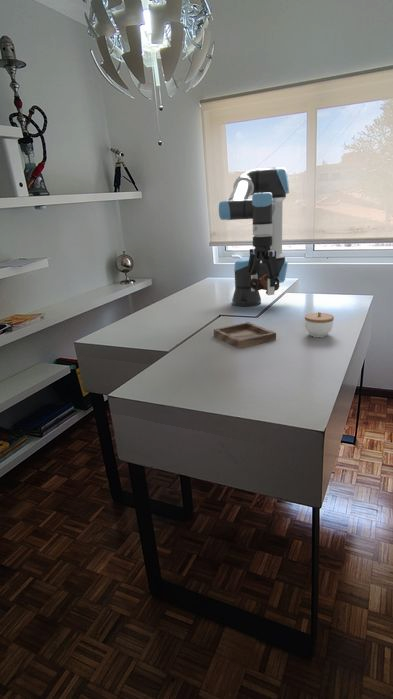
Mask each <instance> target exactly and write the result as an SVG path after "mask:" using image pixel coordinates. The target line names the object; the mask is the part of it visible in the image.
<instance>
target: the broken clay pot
mask: <svg viewBox="0 0 393 699" xmlns="http://www.w3.org/2000/svg"><path fill="white" fill-rule="evenodd" d="M268 277H269V275H268V274H265V275H263V276H262V278H260V279H255V278H253V279H251V280H250V282H249V284H250V286H251V288H253V289H254V290H255V291H256V292H257V291H261V290H264V291H265V295H268V282H266V280H268ZM275 281H276V282H277V283H276V284H275V287H274V292H276V291H278V290H279V289H280V284H281V283H280V281H279V279H278V278H277V277H276V278H275ZM253 283H255V284H256V285H253Z"/></svg>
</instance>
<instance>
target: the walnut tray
mask: <svg viewBox="0 0 393 699" xmlns="http://www.w3.org/2000/svg"><path fill="white" fill-rule="evenodd" d="M213 337H215V338H217V339H219V340H221V341H224V342H225V343H227V344H229V345H231V346H233V347H235V348H237V349H239V350H240V349H244V348H248V347H253V346H256V345H260V344H264V343H269V342H272V341H276V340H277V332H275V331H272V330H269V329H268V328H265V327H263V326H259V325H256V324H255V323H251V322H249V321H246V322H241V323H238V324H234V325H233V324H232V325H228V326H223V327H219V328H214V329H213Z"/></svg>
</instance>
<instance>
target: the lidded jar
mask: <svg viewBox="0 0 393 699" xmlns="http://www.w3.org/2000/svg"><path fill="white" fill-rule="evenodd" d="M334 319H335V316H334V315H333V314H331V313H326V312H322V311H317V312H310V313H307V314H306V315H305V316H304V321H305V322H304V324H305V329H306V331H307V333H308V334H309V335H310V336H311V337H312V336H313V338H318V337H321V338H325V336H326V335H329V334H330V332H331V331H332V329H333V325H334ZM326 337H327V336H326Z"/></svg>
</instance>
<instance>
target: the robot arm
mask: <svg viewBox="0 0 393 699" xmlns="http://www.w3.org/2000/svg"><path fill="white" fill-rule="evenodd" d="M289 184H290V183H289V177H288V171H287V169H286V167H284V166H282V167H281V166H280V167H279V166H278V167H277V166H276V167H266V168H253V169H250V170H248V171H246V172H244V173H242V174H240V175H239V176H238V177H237V178H236V179H235V181H234V183H233V188H232V192H231V193H230V196H229V198H228V200H227V199H225V200H221V201H219V204H218V216H219V219H220V220H221V221H234V220H235V221H236V220H252V235H253V236H252V246H253V247H254V248H250V249H249V257H244V258H240V259H237V260H236V261H235V262H234V269H233V271H234V291H233V295H232V298H231V304H232V306H237V307H253V305H254V306H257V304H258V305H260V304H262V296H261V295H260V292H259V291H260V290H258V291H257V292H256V291H255V290H254V289H253V288H251V286H250V284H249V282H250V280H251V279H253V278H255V279H260V278H262V276H263V275H265V274H268V275H269V277H268V280H266V282H268V294H267V296H273V295H274V296H275V291H274V287H275V284H277V282H276V281H275V278H276V277H277V278H278V279H279V281H280V283H279V284H282V283H284V282H285V281H286V276H287V272H288V271H287V270H288V264H289V260H288V259H287V258H286V255H285V254H284V253H283V202H284V200H285V199H287V194H290V188H289V187H290V186H289ZM249 197H252V198H250V199H249ZM253 285H256V284H255V283H253ZM259 303H260V304H259Z"/></svg>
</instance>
